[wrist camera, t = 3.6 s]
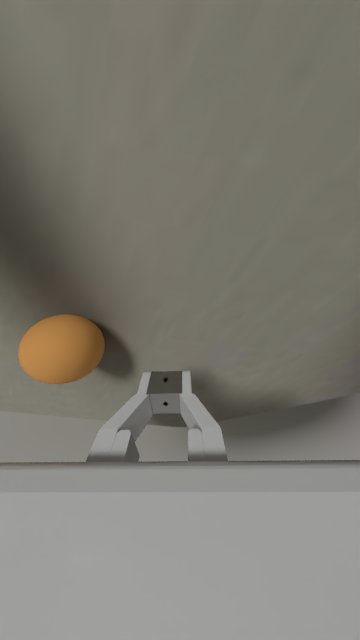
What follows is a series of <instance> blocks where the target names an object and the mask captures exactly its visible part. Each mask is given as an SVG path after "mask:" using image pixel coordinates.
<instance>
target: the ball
mask: <svg viewBox="0 0 360 640" xmlns="http://www.w3.org/2000/svg"><path fill="white" fill-rule="evenodd" d="M104 349H105V341H104V337H103V334H102V332H101V331H100V329H99V328H98V327H97V326H96V325H95V324H94V323H93V322H91V321H90V320H88V319H86V318H84V317H81V316H77V315H70V314H63V315H56V316H52V317H48V318H46V319H43V320H41V321H39V322H38V323H36V324H35V325H34V326H32V327H31V328H30V329H29V330H28V331H27V332H26V333H25V335H24V336H23V338H22V340H21V342H20V345H19V349H18V357H19V361H20V364H21V366H22V368H23V369H24V371H25V372H26V373H27V374H28V375H30V376H31V377H33V378H34V379H36V380H38V381H41V382H44V383H49V384H64V383H69V382H73V381H76V380H78V379H81V378H83V377H84V376H86V375H87V374H89V373H90V372H91V371H92V370H93V369H95V368H96V366H97V365H98V364H99V362H100V361H101V359H102V356H103V354H104Z"/></svg>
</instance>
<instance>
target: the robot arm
mask: <svg viewBox="0 0 360 640" xmlns="http://www.w3.org/2000/svg"><path fill="white" fill-rule="evenodd" d="M161 413H181V415H182V417H183V419H184V421H185V423H186V425H187V427H188V428H189V431H188V461H175V462H174V461H170V462H169V461H167V462H138V461H139V453H138V450H137V447H136V445H135V441H136V439H137V438H138V436H139V435H140V433H141V432H142V430H143V429H144V427H145V426H146V424H147V423H148V422H149V420H150V419H151V417H152V416H153V414H161ZM0 640H360V460H325V461H324V460H321V461H228V460H227V455H226V450H225V445H224V441H223V436H222V431H221V428H220V426H219V425H218V424H217V422H216V421H215V420H214V418H213V417H212V416H211V415H210V413H209V412H208V411H207V409H206V408H205V407H204V405H203V404H202V403H201V402H200V400H199V399H198V398H197V396H196V395H195V394H192V388H191V374H190V371H167V372H154V371H152V372H144V373H143V375H142V378H141V381H140V385H139V388H138V392H137V395H133V396H132V397H131V398H130V399H129V400H128V401H127V402H126V403H125V404H124V405H123V406H122V407H121V408H120V409H119V410H118V411H117V412H116V413H115V414H114V415H113V416H112V417H111V418H110V419H109V420H108V421H107V422H106V423H105V424H104V426H102V428H100V430H99V432H98V435H97V437H96V439H95V441H94V444H93V446H92V449H91V451H90V453H89V455H88V458H87V460H86V462H35V463H34V462H33V463H32V462H27V463H26V462H23V463H0Z"/></svg>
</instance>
